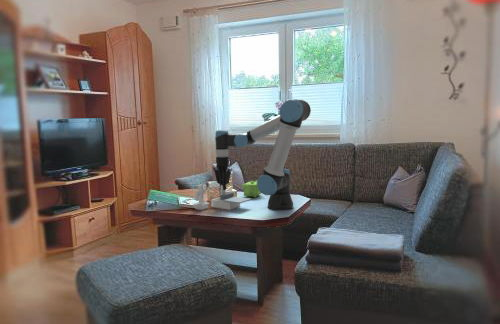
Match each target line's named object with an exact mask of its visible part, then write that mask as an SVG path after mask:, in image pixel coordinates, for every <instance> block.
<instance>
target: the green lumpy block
mask: <svg viewBox="0 0 500 324" xmlns="http://www.w3.org/2000/svg"><path fill="white" fill-rule="evenodd" d="M241 188H242V189H243V197H246V198H250V197H253V198H257V197H259V196H260V195H261V194H262V193H261V192H260V191H259V189H258V187H257V180H255V181H254V180H250V181H248V182H246V183H243V184H241Z"/></svg>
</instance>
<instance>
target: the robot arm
mask: <svg viewBox="0 0 500 324" xmlns="http://www.w3.org/2000/svg"><path fill="white" fill-rule="evenodd" d="M311 110H312V109H311V105H310V104H309V103H308V101H306V100H303V99H297V98H290V99H287V100H285V101H284V102H283V103H282V104H281V105H280V107H279V115H277V116H275V117H274V118H271V119H270V120H267V121H265V122H264V123H262V124H259V125H258V126H256V127H254V128H252V129H251V130H248V131H246V132H241V133H229V131H228V130H227V129H226V130H224V129H223V130H221V129H220V130H219V129H218V130H216V131H215V137H214V138H215V156H216V157H215V163H216V166H214V167H213V168H212V169H213V171H214V175H215V181H216V183H217V184H219V190H220V195H224V194H227V193H226V191H227V185H229V184H230V179H231V174H232V171H233V168H231V167H230V165H229V161H230V158H229V147H232V148H244V147H246V146H251V145H254V144H255V143H256V142H257V141H260V140H261V139H264V138H266V137H268V136H269V135H272V134H274V133H277V132H278V134H277V136H276V140H275V143H274V146H273V148H272V152H271V155H270V157H269V161H268V164H267V166H265V167H264V168H263V171H262V175H259V177H258V178H257V180H256V181H257V187H258V189H259V191H260V192H261V194H262V195H264V196H269V199H268V201H267V208H268V209H269V210H270V209H271V210H275V211H276V210H277V211H284V209H287V210H291V209H293V208H294V202H293V198H292V196H291V195H292V194H291V171H290V169H288V168H285V165H286V163H287V160H288V159H287V158H288V156H289V153H290V150H291V147H292V144H293V141H294V138H295V134H296V133H297V130H298V129H301V126H302V123H303V122H305V121H306V120H308V118H309V117H310V116H311ZM292 207H293V208H292ZM290 208H291V209H290Z"/></svg>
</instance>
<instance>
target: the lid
mask: <svg viewBox="0 0 500 324" xmlns="http://www.w3.org/2000/svg"><path fill="white" fill-rule="evenodd" d="M234 194H235V193H234V192H228V193H226V194H224V195H221V194H220V196H219V197H220V201H226V202H233V203H240V204H242V203H243V204H244V203H246V202H249V201H251V200H252V198H250V197H240V196H235V195H234Z"/></svg>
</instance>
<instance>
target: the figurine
mask: <svg viewBox="0 0 500 324" xmlns="http://www.w3.org/2000/svg"><path fill="white" fill-rule="evenodd" d="M205 194H207V185H206V184H198V185H197V191H195V193H194V199H195V201H196V202H195V203H193V204H192V206H193V207H194V209H195V210H199V211H204V210H206V209H208V207H209V205H210V204H211V203H210V202H205V201H204V195H205Z"/></svg>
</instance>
